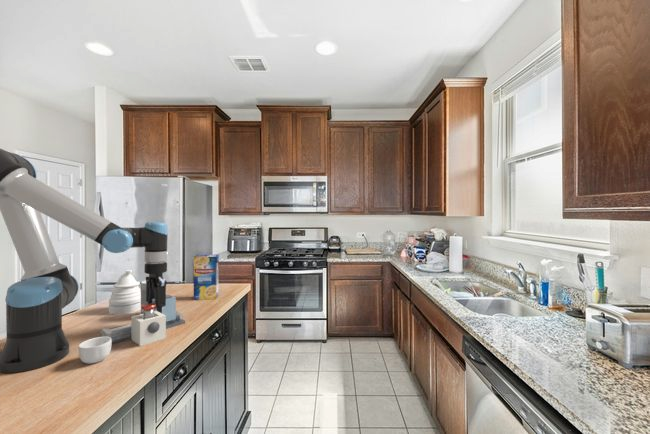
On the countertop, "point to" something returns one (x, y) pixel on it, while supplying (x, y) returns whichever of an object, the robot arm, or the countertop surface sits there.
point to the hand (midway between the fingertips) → (155, 322)
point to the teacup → (95, 349)
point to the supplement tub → (143, 294)
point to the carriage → (169, 307)
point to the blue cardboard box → (206, 277)
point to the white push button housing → (148, 328)
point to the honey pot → (125, 295)
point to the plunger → (148, 310)
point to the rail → (128, 335)
